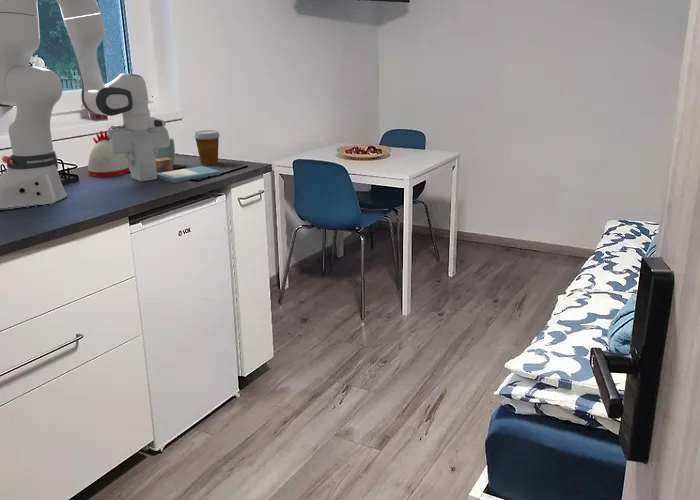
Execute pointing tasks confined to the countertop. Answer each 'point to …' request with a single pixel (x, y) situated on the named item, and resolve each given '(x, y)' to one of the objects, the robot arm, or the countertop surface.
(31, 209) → the countertop surface
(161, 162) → the walnut block
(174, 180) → the light blue book
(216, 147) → the disposable coffee cup
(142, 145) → the small box
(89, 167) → the kitchen timer
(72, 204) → the countertop surface
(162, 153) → the cup
